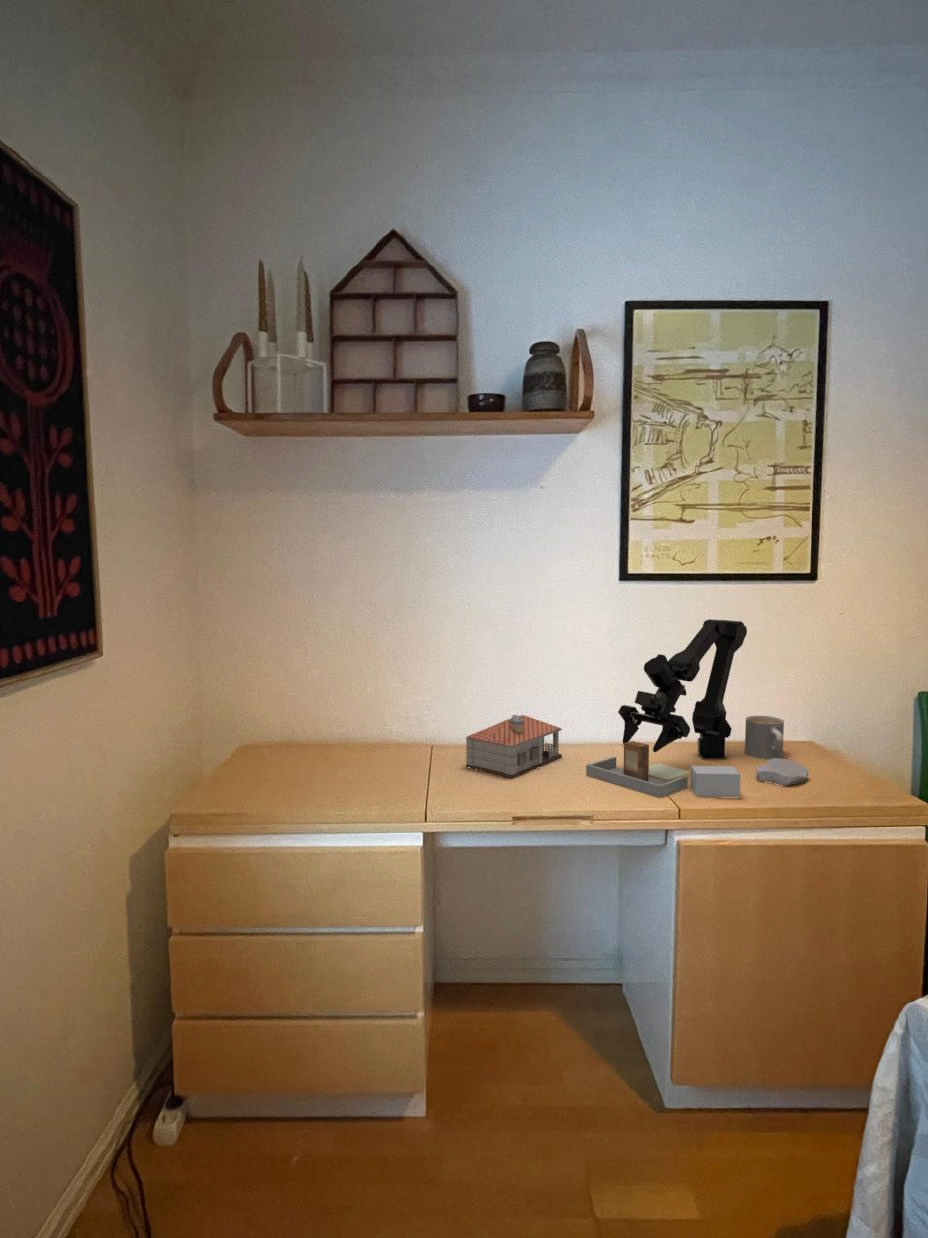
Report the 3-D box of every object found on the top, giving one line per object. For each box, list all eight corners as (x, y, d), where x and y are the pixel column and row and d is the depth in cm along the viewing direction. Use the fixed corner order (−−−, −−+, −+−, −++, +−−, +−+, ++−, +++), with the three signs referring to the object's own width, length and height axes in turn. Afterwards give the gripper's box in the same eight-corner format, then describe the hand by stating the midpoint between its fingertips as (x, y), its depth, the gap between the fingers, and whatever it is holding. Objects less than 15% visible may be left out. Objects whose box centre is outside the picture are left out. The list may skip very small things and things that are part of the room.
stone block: (809, 785, 184) (771, 769, 190) (814, 768, 182) (775, 753, 189) (791, 798, 175) (751, 781, 182) (795, 780, 174) (755, 764, 181)
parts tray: (613, 767, 193) (613, 756, 193) (687, 788, 176) (687, 776, 176) (586, 776, 186) (586, 765, 186) (660, 799, 169) (660, 786, 169)
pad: (658, 764, 195) (658, 763, 195) (690, 773, 188) (690, 771, 188) (635, 772, 189) (635, 770, 189) (667, 781, 181) (667, 780, 181)
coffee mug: (740, 749, 210) (741, 715, 209) (775, 749, 209) (776, 715, 208) (755, 762, 196) (756, 726, 196) (792, 763, 196) (794, 727, 195)
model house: (512, 780, 185) (512, 723, 183) (466, 769, 195) (465, 714, 193) (562, 759, 203) (562, 706, 201) (517, 749, 213) (517, 699, 211)
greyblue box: (732, 790, 175) (733, 766, 174) (739, 799, 169) (740, 774, 168) (690, 789, 176) (690, 765, 175) (696, 798, 170) (696, 773, 169)
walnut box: (632, 777, 184) (632, 740, 183) (648, 781, 180) (648, 744, 179) (623, 780, 182) (623, 743, 181) (639, 785, 178) (640, 747, 177)
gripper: (623, 674, 190) (595, 722, 184) (684, 684, 176) (656, 736, 170) (640, 700, 196) (614, 747, 190) (701, 711, 181) (675, 762, 175)
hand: (638, 747), depth 181 cm, fingers open, 9 cm apart
